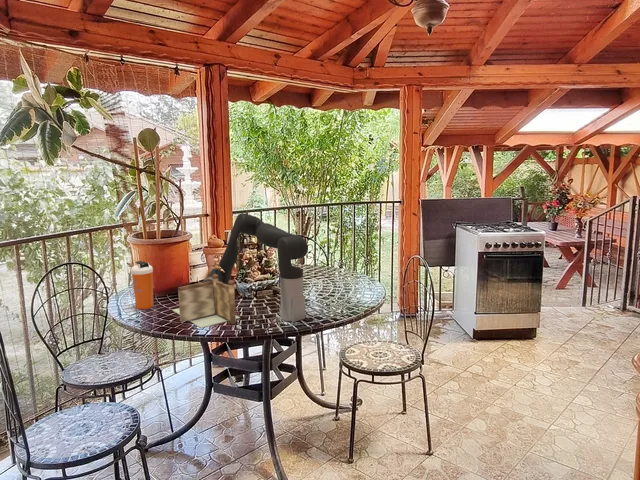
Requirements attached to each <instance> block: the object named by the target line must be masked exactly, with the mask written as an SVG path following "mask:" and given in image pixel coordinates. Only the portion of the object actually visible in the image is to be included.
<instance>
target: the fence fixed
mask: <svg viewBox="0 0 640 480" xmlns="http://www.w3.org/2000/svg"><path fill="white" fill-rule="evenodd" d="M212 278H213V295H214V296H213V299H214V313H215V315H218V314H219V315H220V316H222V317H224V318H226V319H228V320H230V321H229V324H231V325H234V324H236V323H237V322H236V320H237V319H236V297H235V296H236V295H235V281H234V280H233V279H230V280H229V281H228V285H227V284H225V283H222V282H220V281H218V275H217V274H213V276H212Z"/></svg>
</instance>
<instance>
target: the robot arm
mask: <svg viewBox="0 0 640 480" xmlns="http://www.w3.org/2000/svg"><path fill="white" fill-rule="evenodd" d="M240 234H243V235H248V236H254V237H256V239H257V240H258V242H259V243H260V244H262V245H264V246H266V247H269V248H272V249H273V248H274V249H277V250H276V251H277V252H276V253H277V262H278V263H277V264H278V271H279V274H280V283H279V291H280V292H279V293H280V296H279V297H280V318H281V320H282V321H286V322H292V323H295V322H299V321H302V320H305V319H306V297H305V296H306V295H304V270H303V269H302V268H301V267H299V266H295V265H293V264H292V261H293V260H300V259H302V258H304V257H306V256H307V255H308V251H309V245H308V243H307V241H306V239H304V237H303V236H301V235H298V234H294V233H290V232H288V231H286V230H284V229H281V228H279V227H277V226H275V225H274V224H270V223H267V222H264V221H263V220H262V219H260V218H259V217H257V216H255V215H251V214H249V213H244V212H241V213H239V214H238V215H237V216H236V218H235V220H234V223H233V225H232V229H231V232H230V236H229V238H228V241H227V242H228V243H227V245H226V248H225V250H224V252H223V254H222V255H221V258H220V260H219V263H218V265H219V268H220V269H219V268H216V267H215V268H212V269H211V271H210V272H209V275H208V277H207V278H205V279H203V280H202V281H200V283H204V282H209V281H212V282H213V278H212V276H213V274H217V275H218V281H220V282H222V283H225V284H227V285H228V281H229V280H232V279H231V278H232V272H233V269H234V267H235V264H236V262H237V260H238V258H237V255H238V250H239V244H238V240H239V237H240ZM238 256H239V255H238ZM221 269H222V270H221ZM213 297H214V295H213Z"/></svg>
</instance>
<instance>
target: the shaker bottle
mask: <svg viewBox="0 0 640 480" xmlns="http://www.w3.org/2000/svg"><path fill="white" fill-rule="evenodd" d="M135 264H136V265H135ZM135 264H134V265H133V266H132V267H131V269H130V274H131V279H132V286H133V293H134V301H135V307H136V309H138V310H147V309H151V308H153V307H154V281H153V278H154V277H153V272H154V267H153V265H151V264H150V263H149V262H146V261H143V260H138V261H135Z"/></svg>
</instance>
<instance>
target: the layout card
mask: <svg viewBox="0 0 640 480" xmlns="http://www.w3.org/2000/svg"><path fill="white" fill-rule="evenodd" d="M171 311H173V312H174V313H176V314H177V315H178V316H180V311H179V307H178V308H174V309H172V310H171ZM235 315H236V314H235ZM238 319H241V317H240V316H238V315H236V320H238ZM187 322H190V323H192V324H193V325H195V326H197V327H198V328H200V329H203V328H207V327H211V326H215V325H219V324H223V323H226V322H227V323H228V322H230V320H228V319H226V318H224V317H222V316H220V315H219V314H218V315H215V313H214V314H212V315H208V316H204V317H200V318H195V319H191V320H187Z"/></svg>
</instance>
